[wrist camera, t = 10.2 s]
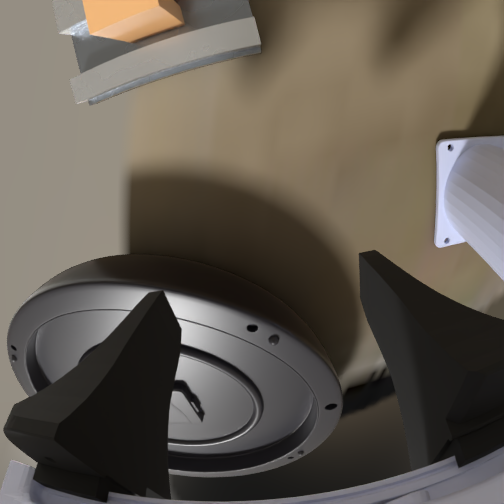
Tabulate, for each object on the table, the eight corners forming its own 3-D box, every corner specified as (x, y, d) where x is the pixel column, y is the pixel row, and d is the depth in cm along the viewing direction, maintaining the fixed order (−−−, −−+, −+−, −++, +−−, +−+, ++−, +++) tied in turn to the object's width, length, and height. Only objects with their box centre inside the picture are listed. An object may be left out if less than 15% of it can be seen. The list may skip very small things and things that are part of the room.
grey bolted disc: (122, 440, 38) (337, 423, 35) (115, 474, 33) (344, 465, 29) (-14, 274, 23) (308, 188, 20) (-47, 313, 18) (329, 232, 14)
